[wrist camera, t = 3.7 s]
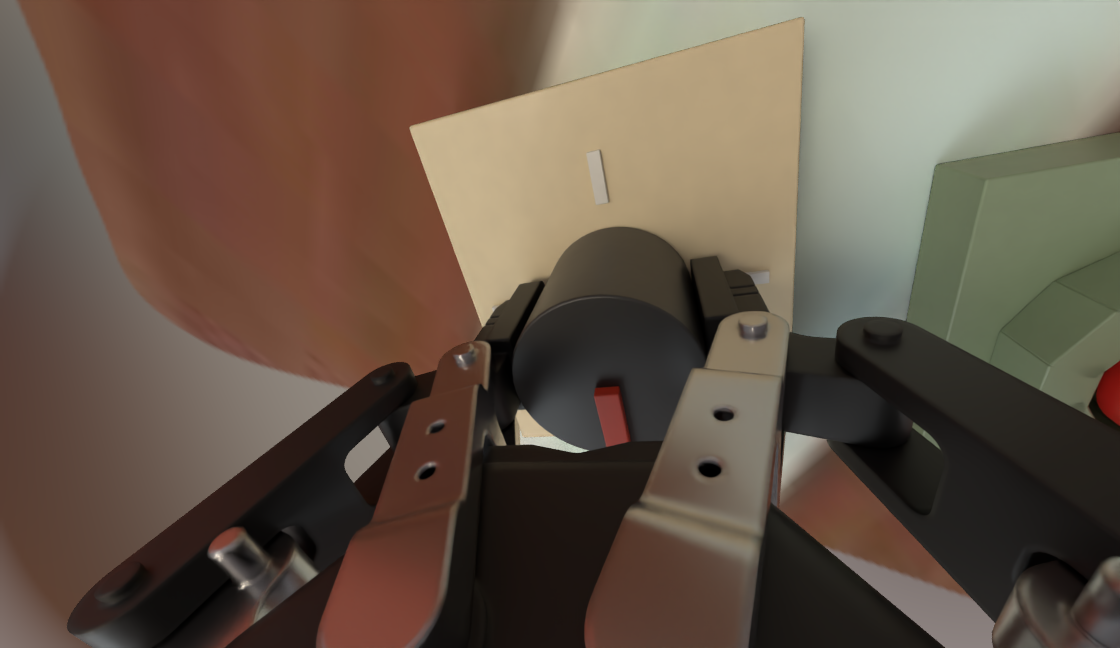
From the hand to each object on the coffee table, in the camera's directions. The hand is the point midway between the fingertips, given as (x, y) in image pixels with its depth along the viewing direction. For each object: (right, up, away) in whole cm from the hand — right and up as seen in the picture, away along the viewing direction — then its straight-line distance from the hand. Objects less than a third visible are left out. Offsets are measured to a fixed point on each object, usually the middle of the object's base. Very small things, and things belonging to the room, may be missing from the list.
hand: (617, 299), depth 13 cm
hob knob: (0, 0, 0) cm, 0 cm away
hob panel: (+1, +2, +3) cm, 3 cm away
